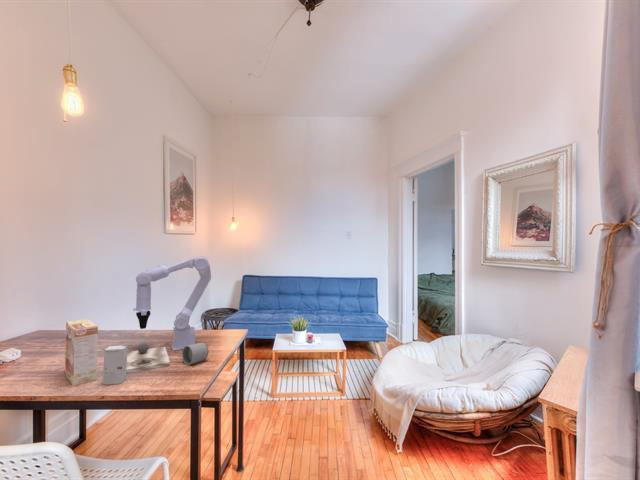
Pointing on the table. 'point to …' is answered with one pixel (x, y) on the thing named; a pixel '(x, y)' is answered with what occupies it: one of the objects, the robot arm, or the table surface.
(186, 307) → the robot arm
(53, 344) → the table surface
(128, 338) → the table surface
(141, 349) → the ball
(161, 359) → the board
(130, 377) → the table surface
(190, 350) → the ceramic mug
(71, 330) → the coffeecake box
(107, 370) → the skincare box
